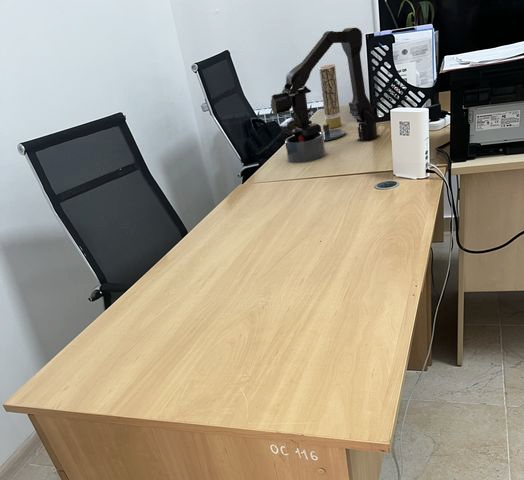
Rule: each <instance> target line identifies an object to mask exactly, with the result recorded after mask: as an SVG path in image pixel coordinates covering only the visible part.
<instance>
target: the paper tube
mask: <svg viewBox="0 0 524 480" xmlns="http://www.w3.org/2000/svg"><path fill="white" fill-rule="evenodd" d="M318 68H319V69H318V71H319V79H320V87H321V96H322V103H323V111H324V112H323V113H324V121H325V124H329V129H337V128H339V127H341V124H342V120H341V110H340V109H341V108H340V101H339V100H340V99H339V92H338V81H337V74H336V73H337V72H336V65H335V64H333V63H331V64H326V65H322V66H319V67H318Z"/></svg>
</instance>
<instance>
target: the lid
mask: <svg viewBox="0 0 524 480" xmlns="http://www.w3.org/2000/svg"><path fill="white" fill-rule="evenodd" d="M321 132H322V133H323V136H324V142H327V141H332V140H335V139H338V138H341V137H343V136H345V135H346V134H347V132H346V130H345V129H342V128H329V124H326V123H324V124H322V130H321Z"/></svg>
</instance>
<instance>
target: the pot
mask: <svg viewBox="0 0 524 480" xmlns="http://www.w3.org/2000/svg"><path fill="white" fill-rule="evenodd" d="M284 144H285V150H286V156H287V160H288V162H289V163H294V164H302V163H308V162H312V161H316V160H319V159H322V158H323V157H325V155H326V145H325V141H324V136H323V133H322V132H319V133H316V134H315V137H314V139H312V140H308V141H303V142H298V140H297V138H296V136H295V135H291V136H289V137H287V138H286V139H285V140H284Z"/></svg>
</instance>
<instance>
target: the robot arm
mask: <svg viewBox="0 0 524 480" xmlns="http://www.w3.org/2000/svg"><path fill="white" fill-rule="evenodd" d="M334 44H341V47H342V50H343V52H344V54H345V56H346V57H347V64H348V71H349V78H350V84H351V92H352V100H351V102H348V108H349V114H350V115H351V117H352V118H354V119H355V121H356V123H357V124H358V127H357V133H358V138H357V141H358V142H359V141H360V142H362V141H364V142H365V141H368V142H369V141H373V140H375V139H377V138H378V137H380V134H378V128H377V123H378V122H379V117H380V116H379V115H378V114H376V112H374V111H373V108H372V105H371V101H370V100H369V98H368V96H367V93H366V88H365V80H364V74H363V67H362V59H361V51H362V47H363V33H362V30H361V29H360V28H358V27H346V28H344V29H343V30H341V31H334V30H326V31H325V32H324V33H323V34H322V35H321V37H320V39H319V40H318V41H317V43H316V44H315V45H314V47H312V49H311V50H310V51H309V52H308V54H307V55H306V56H305V58H304V59H303V60H302V61H301V62H300V63H299V64H297V65H296V66H294V67H293V68H292V69H291V70H290V71H289V72H288V73H287V74H286V76H285V83H284V86H283V88H282V91H281V92H279V93H274V94H271V95H270V96H271V100H270V108H271V111H272V113H273V115H275V116H277V115H280V114H284V113H287V112H290V111H291V109H292V111H291V112H290V114H289V115H290V117H289V118H287V119H285V120H284V121H283V122H282V123H281V124H280V125H279V127H280V129H281V131H282V132H283V134H286V135H289V134H292V136H294V135H295V136H296V138H297V140H298V142H299V139H298V137H299V136H302V137H303V138H304V141H308V140H312V139H314V137H315V134H316V133H319V132H321V131H322V126H321V125H320V124H319V123H313V122H312V120H310V115H309V113H311V109H310V108H309V107H308V101H307V94H309V93H312V90H311V89H309V88H308V87H307V85H306V84H307V82H308V81H309V79H310V76H311V73H312V71H313V70H314V68H315V67H316V66H317V64H318V63H319V62H320V61H321V60H322V59H323V57H324V56H325V54H326V53H327V52H328V50H329V49H331V47H332V46H333V45H334Z"/></svg>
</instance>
